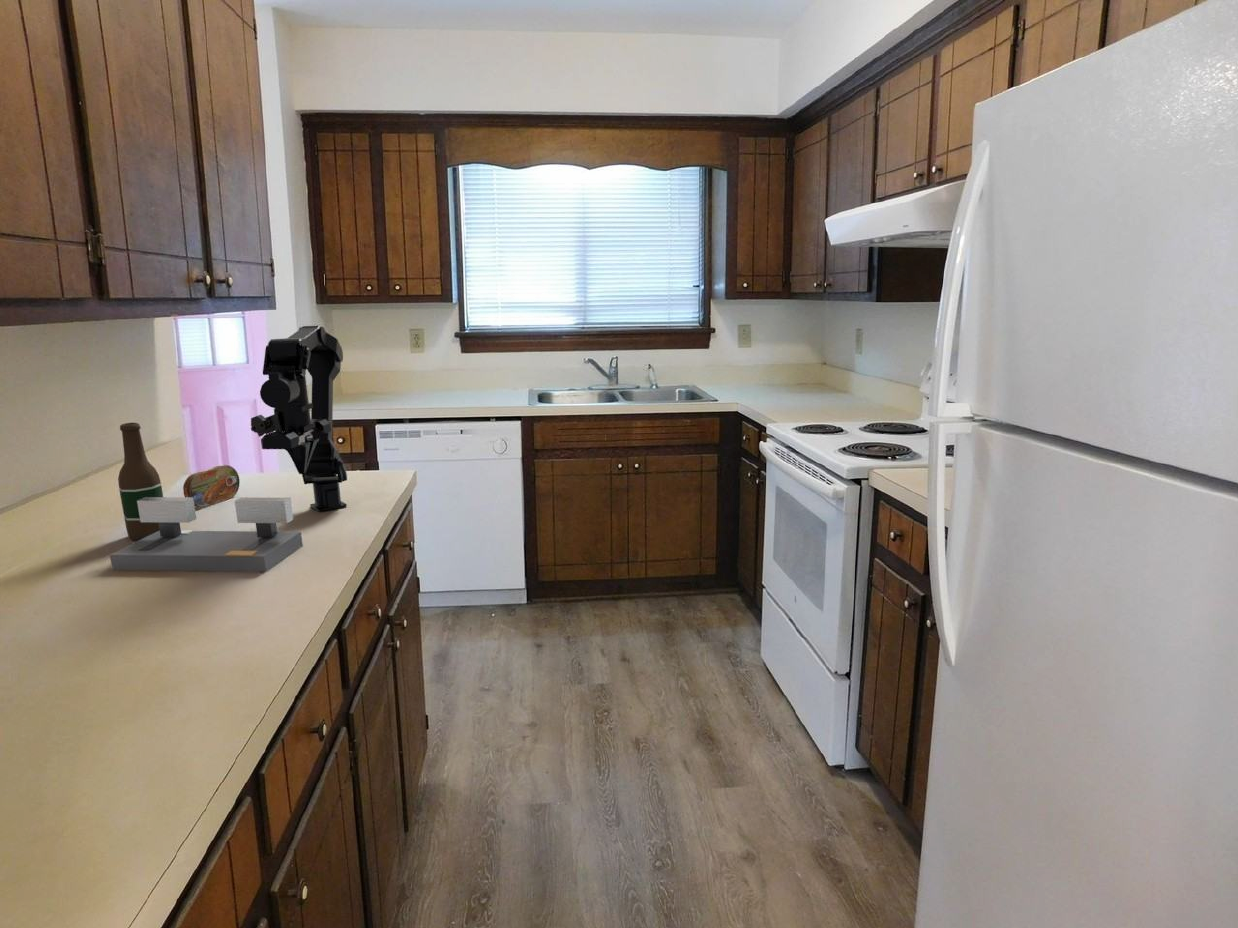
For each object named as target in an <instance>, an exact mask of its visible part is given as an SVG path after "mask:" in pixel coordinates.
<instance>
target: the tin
mask: <svg viewBox="0 0 1238 928" xmlns="http://www.w3.org/2000/svg"><path fill="white" fill-rule="evenodd" d="M239 487H240V476H239V473H238V472H237V470H236V469H235V468H234V467H233V466H231V465H227V464H224V465H216V466H214V467H210V468H207V469H204V470H201V471H197V472H194V473H191V474H190V475H189V476H188V477H186V479H185V481H184V483H183V486H182V489H183V497H193V500H194V507H195V508H202V509H203V508H205V507H206V508H208V506H209V507H211V505H212V506H214V505H217V504H219V502H220V503H222V502H225V501H227V500H231V499H232V498H234V497H235V496H236V495H237V493H238V490H239V489H240V488H239ZM216 503H217V504H216ZM206 508H205V509H206Z"/></svg>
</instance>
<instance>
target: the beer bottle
mask: <svg viewBox="0 0 1238 928" xmlns="http://www.w3.org/2000/svg"><path fill="white" fill-rule="evenodd" d="M141 429H142V427H141V425H140V424H139V422H126V423H122V424H120V425H119V430H120V431H121V435H122V445H123V447H122V448H123V455H124V456H123V457H124V459H123V460H124V461H123V462H124V463H123V464H122V466H121V468H120V470H119V473H118V477H117V481H118V490H119V494H120V496H119V497H120V501H121V507H122V512H123V519H124V525H125V530H126V532H127V536H128V537H129V539H130V540H131V541H132V542H133V541H135V542H137V541H139V540H141V539H143V538H145V537H147V536H149V535H151V534H153V533H155V532H157V531H160V530H159V524H158V522H141V521H140V516H139V510H138V504H137V500H140V499H142V498H145V497H164V494H163V493H164V492H163V488H162V483H161V482H162V481H161V478H160V475H159V473H158V472H157V469H156V468H155V467H154V466H153V465H152V464H151V462H149V461H148V458H147V456H146V451H145V448H144V444H143V440H142V434H141V432H140V430H141Z"/></svg>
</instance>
